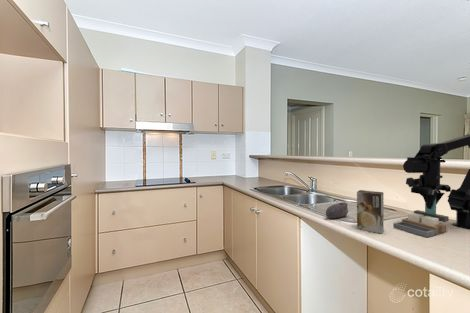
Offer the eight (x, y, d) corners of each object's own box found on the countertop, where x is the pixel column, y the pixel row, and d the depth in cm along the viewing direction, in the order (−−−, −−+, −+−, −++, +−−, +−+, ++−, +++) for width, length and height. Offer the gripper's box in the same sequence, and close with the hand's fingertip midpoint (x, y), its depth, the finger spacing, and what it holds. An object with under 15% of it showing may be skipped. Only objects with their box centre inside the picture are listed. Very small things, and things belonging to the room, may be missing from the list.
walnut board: (412, 223, 100) (412, 216, 100) (446, 232, 89) (446, 224, 89) (402, 225, 97) (402, 219, 96) (435, 235, 86) (435, 227, 86)
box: (401, 225, 96) (401, 221, 96) (435, 235, 85) (435, 230, 85) (393, 227, 94) (393, 223, 94) (426, 237, 83) (426, 232, 83)
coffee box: (384, 229, 92) (384, 192, 91) (381, 234, 87) (381, 194, 87) (359, 225, 98) (360, 189, 98) (356, 228, 93) (356, 191, 93)
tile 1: (413, 218, 97) (413, 212, 97) (424, 220, 94) (424, 215, 94) (408, 219, 96) (408, 213, 96) (418, 222, 92) (418, 216, 92)
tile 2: (426, 221, 93) (426, 215, 93) (438, 224, 89) (438, 218, 89) (421, 222, 91) (421, 217, 91) (433, 225, 87) (433, 219, 87)
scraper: (417, 214, 101) (417, 192, 100) (448, 221, 90) (448, 197, 90) (413, 215, 99) (414, 193, 99) (444, 222, 89) (445, 198, 89)
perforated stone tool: (330, 221, 104) (330, 206, 104) (321, 218, 109) (321, 204, 108) (351, 217, 110) (351, 203, 110) (342, 214, 115) (342, 201, 115)
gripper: (421, 170, 106) (421, 202, 106) (397, 172, 98) (397, 206, 98) (451, 172, 95) (451, 207, 96) (427, 174, 88) (427, 212, 88)
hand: (430, 208), depth 95 cm, fingers closed on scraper, 2 cm apart
